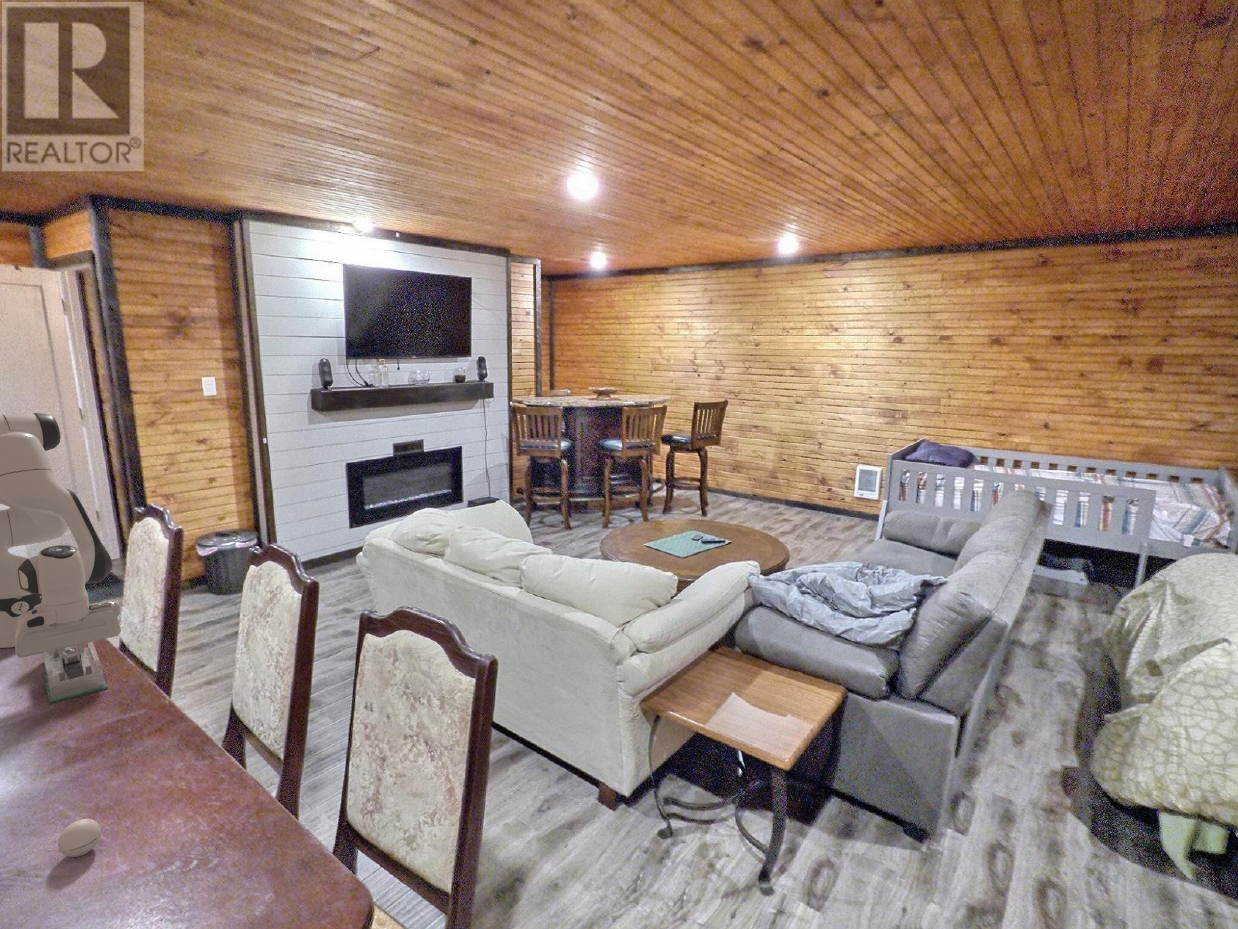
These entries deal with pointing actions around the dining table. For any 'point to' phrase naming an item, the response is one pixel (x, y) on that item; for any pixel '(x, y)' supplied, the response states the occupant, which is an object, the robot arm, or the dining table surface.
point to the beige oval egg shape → (79, 837)
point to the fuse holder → (75, 686)
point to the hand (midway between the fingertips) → (72, 661)
